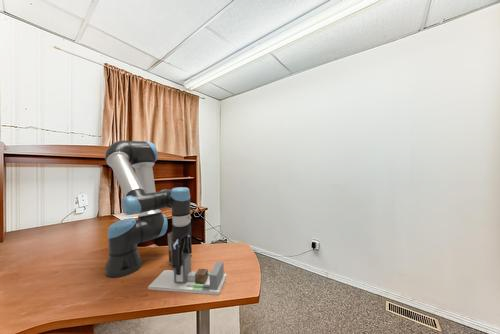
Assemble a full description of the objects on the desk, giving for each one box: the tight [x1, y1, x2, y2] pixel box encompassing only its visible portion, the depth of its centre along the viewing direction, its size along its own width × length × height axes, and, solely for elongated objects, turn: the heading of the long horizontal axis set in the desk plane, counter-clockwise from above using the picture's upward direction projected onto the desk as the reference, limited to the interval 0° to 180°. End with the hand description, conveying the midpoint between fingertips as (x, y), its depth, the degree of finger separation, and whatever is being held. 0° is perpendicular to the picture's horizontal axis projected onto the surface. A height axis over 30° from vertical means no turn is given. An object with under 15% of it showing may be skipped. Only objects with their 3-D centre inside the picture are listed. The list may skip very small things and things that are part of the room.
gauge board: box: [148, 261, 227, 296], centre depth 85 cm, size 30×12×7 cm, turn 82°
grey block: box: [173, 253, 196, 283], centre depth 85 cm, size 9×6×10 cm, turn 82°
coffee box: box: [167, 231, 190, 265], centre depth 101 cm, size 9×6×16 cm
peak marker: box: [195, 268, 209, 284], centre depth 84 cm, size 4×4×4 cm
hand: (183, 276), depth 85 cm, fingers closed on grey block, 6 cm apart
